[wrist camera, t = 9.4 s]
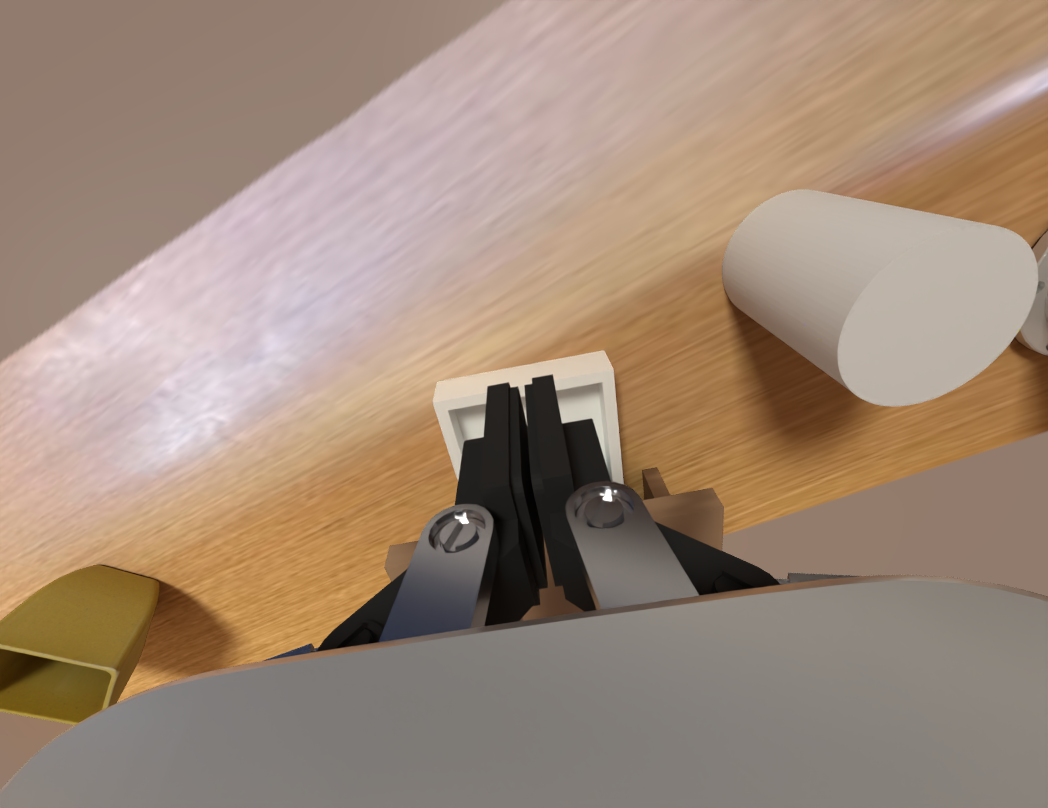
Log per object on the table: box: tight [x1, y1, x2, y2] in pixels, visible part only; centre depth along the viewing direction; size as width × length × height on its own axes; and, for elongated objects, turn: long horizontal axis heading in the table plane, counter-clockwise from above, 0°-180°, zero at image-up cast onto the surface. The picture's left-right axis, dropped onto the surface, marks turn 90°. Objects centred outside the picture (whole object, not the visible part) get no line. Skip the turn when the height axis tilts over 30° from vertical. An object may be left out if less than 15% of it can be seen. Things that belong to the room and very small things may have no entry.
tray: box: [433, 350, 624, 484], centre depth 36 cm, size 12×16×3 cm
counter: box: [384, 468, 724, 621], centre depth 34 cm, size 18×14×12 cm
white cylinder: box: [722, 189, 1038, 406], centre depth 25 cm, size 8×8×12 cm
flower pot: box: [0, 565, 159, 725], centre depth 38 cm, size 9×9×9 cm
